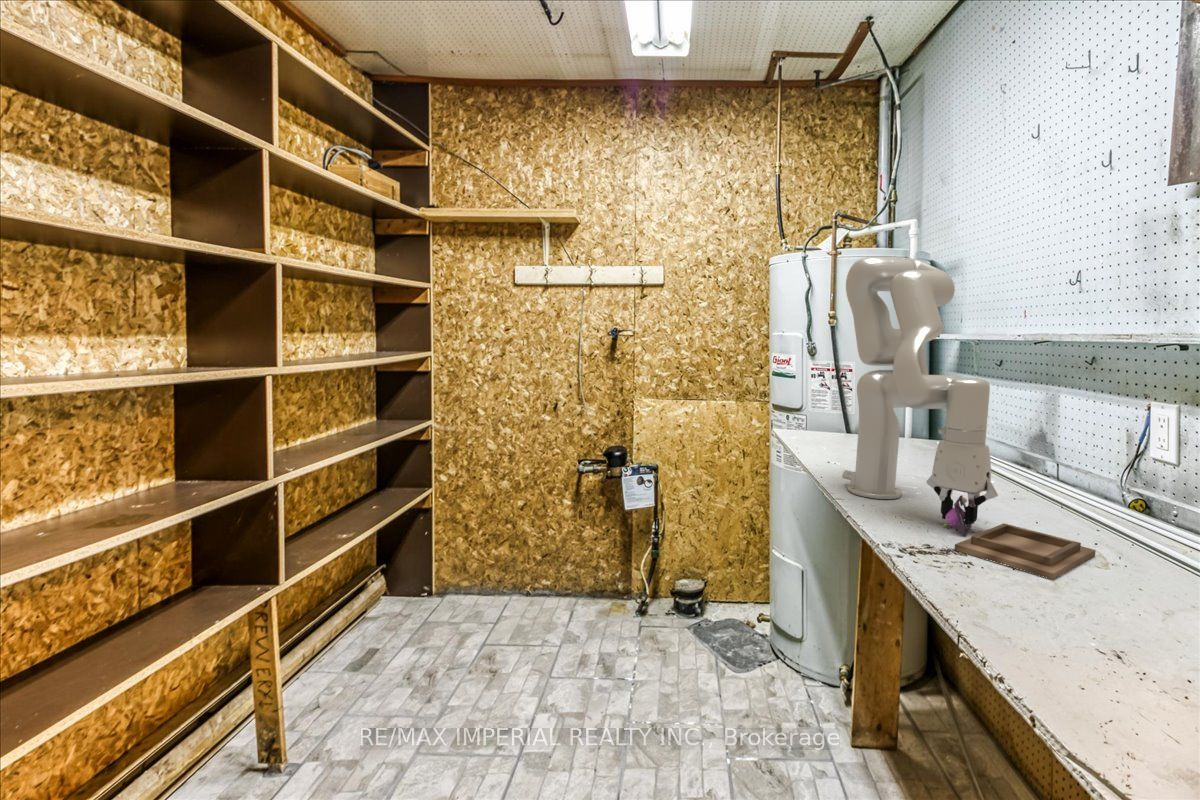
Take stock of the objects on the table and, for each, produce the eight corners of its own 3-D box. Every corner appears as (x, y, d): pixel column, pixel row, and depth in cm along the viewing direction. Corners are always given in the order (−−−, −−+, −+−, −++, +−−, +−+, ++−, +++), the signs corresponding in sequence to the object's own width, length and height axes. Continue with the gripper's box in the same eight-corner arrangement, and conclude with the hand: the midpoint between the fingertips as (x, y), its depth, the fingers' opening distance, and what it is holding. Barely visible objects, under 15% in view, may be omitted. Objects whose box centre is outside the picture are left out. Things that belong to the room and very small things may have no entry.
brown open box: (954, 550, 115) (955, 536, 115) (1000, 531, 126) (1002, 518, 126) (1052, 580, 102) (1054, 565, 102) (1094, 556, 113) (1096, 542, 113)
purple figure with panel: (960, 503, 122) (966, 494, 129) (932, 507, 126) (939, 497, 133) (969, 536, 122) (975, 525, 129) (941, 538, 125) (948, 527, 132)
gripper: (915, 432, 131) (910, 514, 133) (1000, 444, 117) (993, 535, 119) (933, 429, 135) (927, 508, 137) (1017, 441, 121) (1009, 528, 123)
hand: (958, 520), depth 128 cm, fingers closed on purple figure with panel, 3 cm apart
